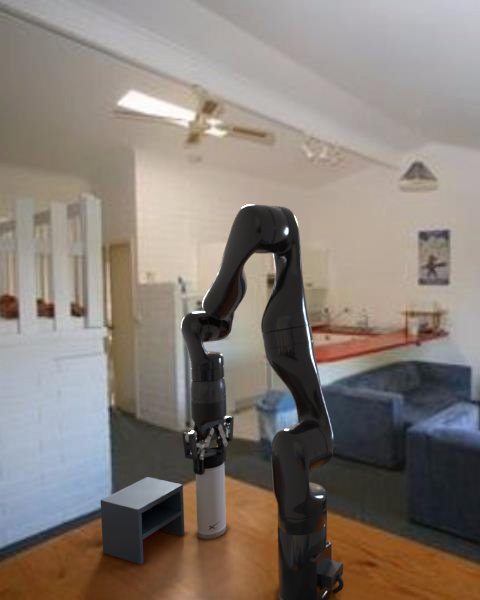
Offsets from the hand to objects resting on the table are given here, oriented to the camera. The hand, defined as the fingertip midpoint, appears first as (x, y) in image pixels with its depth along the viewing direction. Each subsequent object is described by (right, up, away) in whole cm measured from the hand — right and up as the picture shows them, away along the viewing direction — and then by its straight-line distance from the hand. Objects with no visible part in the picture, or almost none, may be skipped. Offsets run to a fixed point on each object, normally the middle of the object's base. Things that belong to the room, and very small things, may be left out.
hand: (210, 467), depth 111 cm
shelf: (-13, -16, -3) cm, 21 cm away
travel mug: (0, -16, +1) cm, 16 cm away
